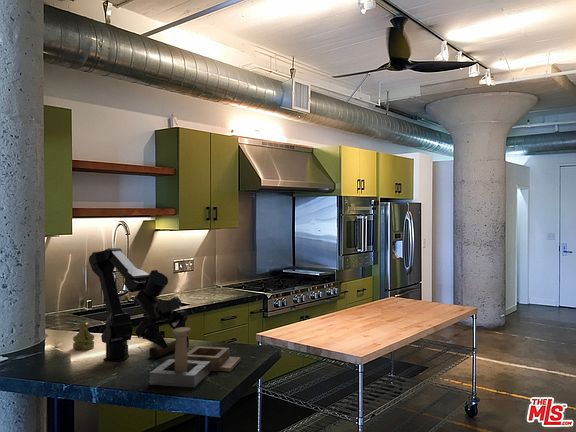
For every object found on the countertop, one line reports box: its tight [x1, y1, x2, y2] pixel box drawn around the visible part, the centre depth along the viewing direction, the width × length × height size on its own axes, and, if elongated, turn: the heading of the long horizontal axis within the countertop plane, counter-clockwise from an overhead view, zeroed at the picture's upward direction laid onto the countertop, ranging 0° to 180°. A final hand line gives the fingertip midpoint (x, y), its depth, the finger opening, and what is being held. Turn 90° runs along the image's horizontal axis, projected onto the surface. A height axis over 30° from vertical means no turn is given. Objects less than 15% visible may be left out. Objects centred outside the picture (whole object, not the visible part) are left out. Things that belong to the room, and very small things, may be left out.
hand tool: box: [149, 338, 190, 359], centre depth 182 cm, size 19×4×5 cm, turn 148°
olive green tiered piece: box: [72, 321, 95, 352], centre depth 187 cm, size 7×8×10 cm
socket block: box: [149, 358, 211, 389], centre depth 153 cm, size 14×14×4 cm
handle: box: [171, 326, 192, 372], centre depth 153 cm, size 5×6×15 cm
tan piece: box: [187, 345, 242, 372], centre depth 167 cm, size 20×12×4 cm, turn 80°
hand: (177, 344), depth 154 cm, fingers open, 9 cm apart
